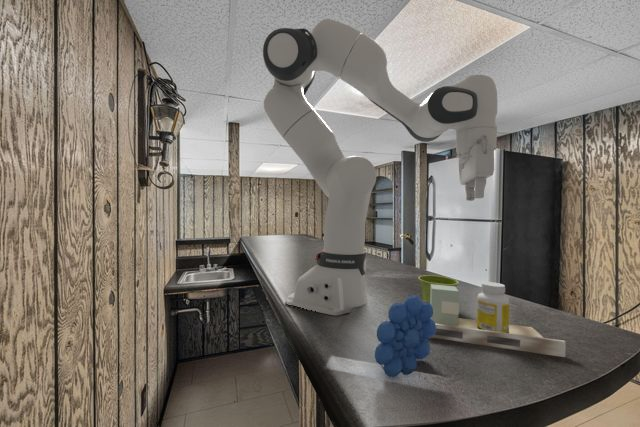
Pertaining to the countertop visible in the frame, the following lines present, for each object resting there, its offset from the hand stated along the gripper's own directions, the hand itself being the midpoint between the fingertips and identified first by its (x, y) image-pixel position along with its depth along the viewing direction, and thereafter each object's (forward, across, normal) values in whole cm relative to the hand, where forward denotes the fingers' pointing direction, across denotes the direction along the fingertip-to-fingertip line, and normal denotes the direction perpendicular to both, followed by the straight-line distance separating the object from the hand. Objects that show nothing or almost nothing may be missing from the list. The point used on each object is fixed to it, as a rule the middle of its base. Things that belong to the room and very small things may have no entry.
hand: (474, 199), depth 69 cm
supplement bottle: (+28, -14, -1) cm, 31 cm away
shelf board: (+29, -14, +1) cm, 32 cm away
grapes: (+29, -32, +16) cm, 46 cm away
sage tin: (+28, -14, +8) cm, 32 cm away
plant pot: (+29, -2, +8) cm, 30 cm away
